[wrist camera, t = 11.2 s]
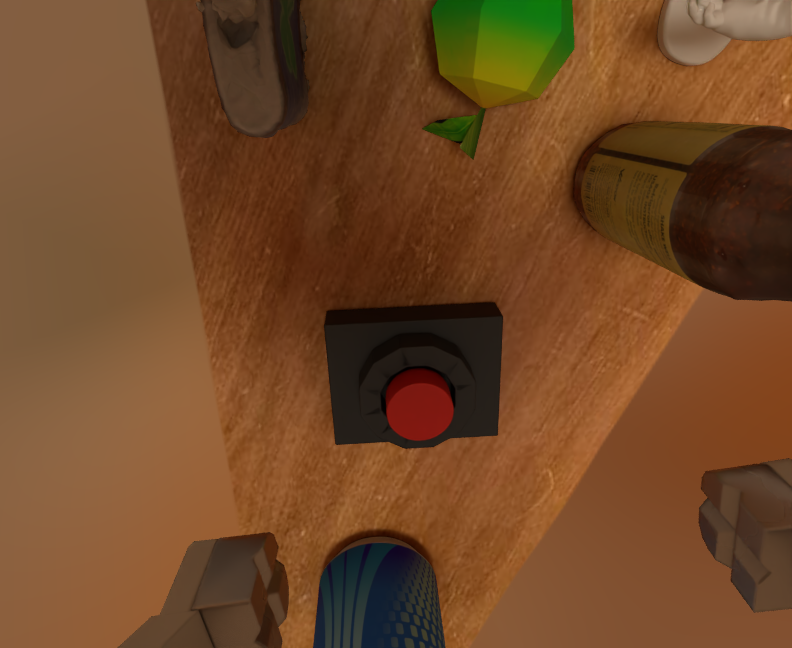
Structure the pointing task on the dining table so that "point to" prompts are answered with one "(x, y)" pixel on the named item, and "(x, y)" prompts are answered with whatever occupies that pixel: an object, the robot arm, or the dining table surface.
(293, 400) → the dining table surface
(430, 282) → the dining table surface
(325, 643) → the beer can
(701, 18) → the figurine
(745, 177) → the sauce bottle
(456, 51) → the apple
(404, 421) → the button
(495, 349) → the control block
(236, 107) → the eggplant half
